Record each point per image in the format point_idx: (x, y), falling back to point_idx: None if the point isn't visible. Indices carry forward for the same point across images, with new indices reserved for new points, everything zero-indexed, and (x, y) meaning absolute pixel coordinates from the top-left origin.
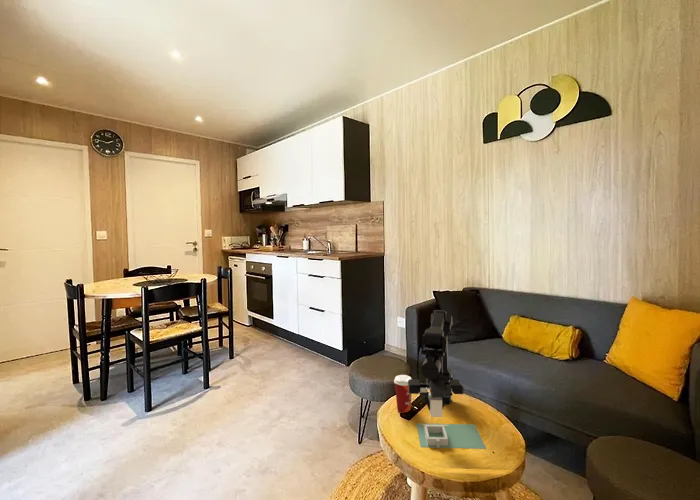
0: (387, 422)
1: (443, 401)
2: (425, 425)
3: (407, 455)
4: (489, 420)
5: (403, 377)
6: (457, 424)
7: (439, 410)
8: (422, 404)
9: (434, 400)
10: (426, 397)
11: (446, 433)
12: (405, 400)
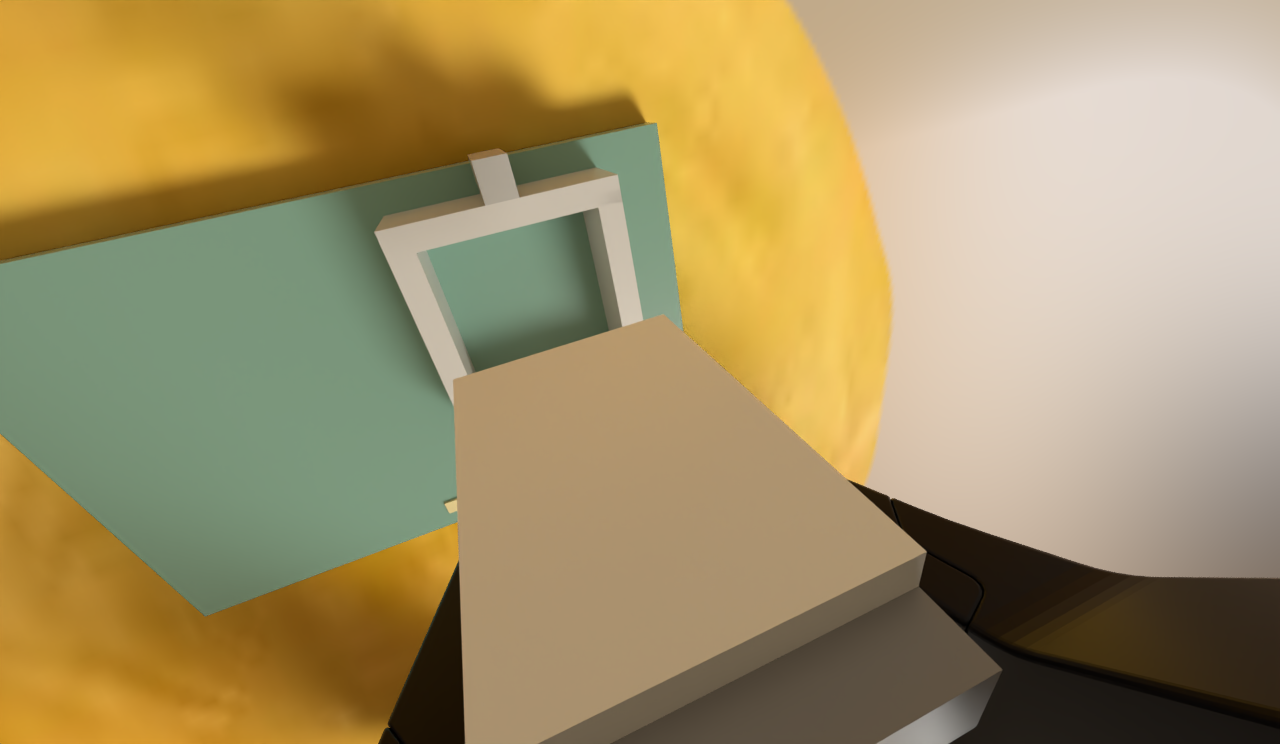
0: (861, 384)
1: (443, 735)
2: None
3: (756, 2)
4: (106, 720)
5: None
6: (370, 550)
7: (528, 434)
8: None
9: (785, 612)
10: (1050, 605)
11: (443, 403)
12: None
